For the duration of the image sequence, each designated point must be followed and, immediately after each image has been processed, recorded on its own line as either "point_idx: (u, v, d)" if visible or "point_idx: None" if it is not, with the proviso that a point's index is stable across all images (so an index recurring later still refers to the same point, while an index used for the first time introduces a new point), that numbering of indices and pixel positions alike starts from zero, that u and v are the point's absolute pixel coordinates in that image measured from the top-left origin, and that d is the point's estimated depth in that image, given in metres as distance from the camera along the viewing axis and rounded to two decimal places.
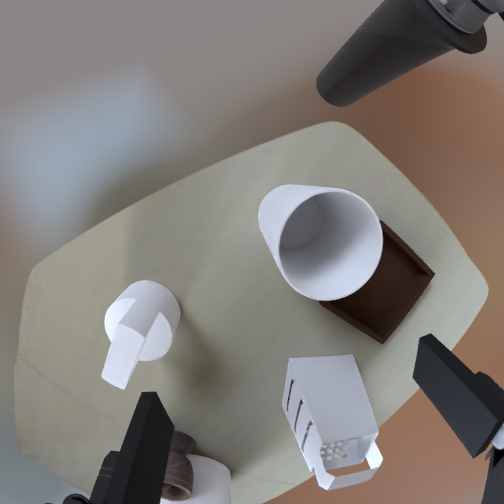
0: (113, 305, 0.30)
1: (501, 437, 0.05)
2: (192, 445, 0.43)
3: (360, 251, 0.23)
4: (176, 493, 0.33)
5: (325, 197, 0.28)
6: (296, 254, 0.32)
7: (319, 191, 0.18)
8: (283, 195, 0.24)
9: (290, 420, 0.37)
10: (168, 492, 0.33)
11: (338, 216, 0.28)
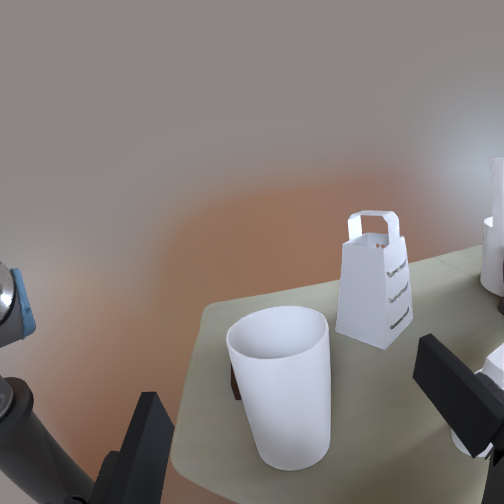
0: None
1: (501, 437, 0.05)
2: (500, 302, 0.36)
3: (263, 339, 0.26)
4: None
5: None
6: None
7: (247, 358, 0.18)
8: (278, 418, 0.19)
9: (409, 297, 0.42)
10: None
11: None
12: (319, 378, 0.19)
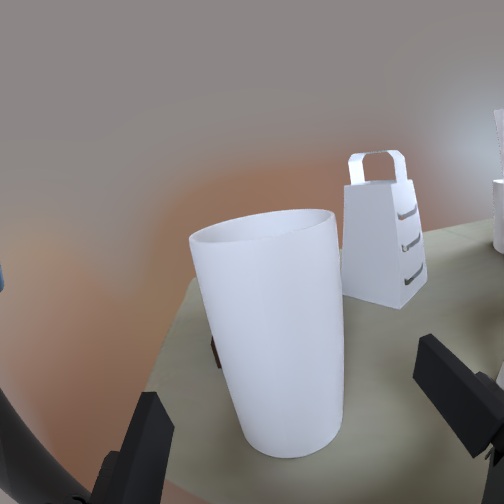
0: None
1: (501, 437, 0.05)
2: None
3: None
4: None
5: None
6: None
7: (212, 244, 0.13)
8: (265, 362, 0.13)
9: (422, 251, 0.36)
10: None
11: None
12: (327, 290, 0.13)
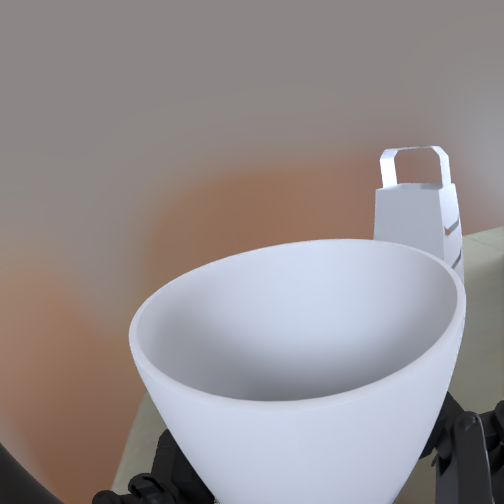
0: None
1: (443, 446, 0.06)
2: None
3: (257, 326, 0.11)
4: None
5: None
6: None
7: (169, 387, 0.04)
8: None
9: (462, 271, 0.27)
10: None
11: None
12: (430, 431, 0.04)
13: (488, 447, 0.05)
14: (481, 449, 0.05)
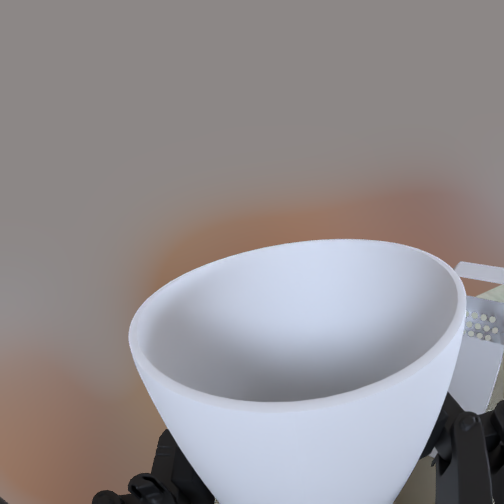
0: None
1: (443, 446, 0.06)
2: None
3: (257, 327, 0.11)
4: None
5: None
6: None
7: (169, 388, 0.04)
8: None
9: (494, 384, 0.19)
10: None
11: None
12: None
13: (488, 447, 0.05)
14: (481, 449, 0.05)
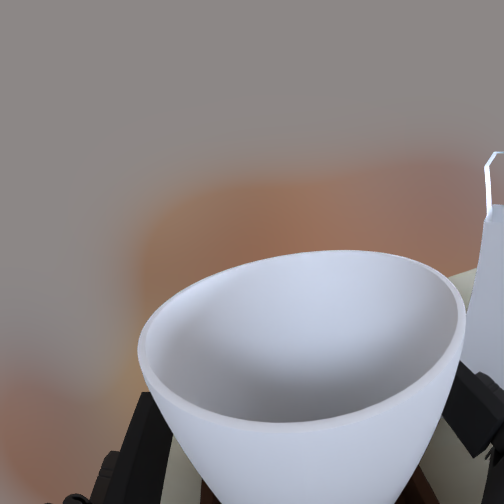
0: None
1: (501, 437, 0.05)
2: None
3: (261, 335, 0.11)
4: None
5: None
6: None
7: (182, 407, 0.04)
8: None
9: None
10: None
11: None
12: (429, 440, 0.05)
13: None
14: None
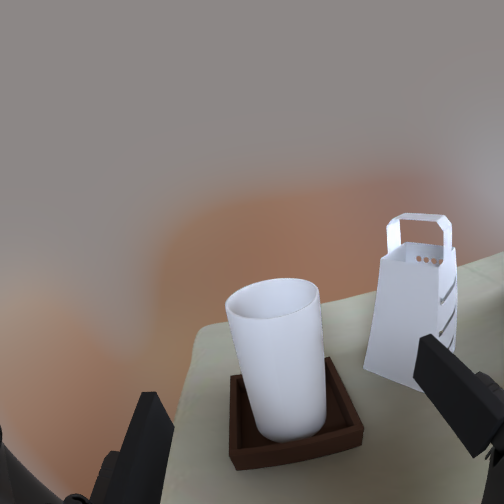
0: None
1: (501, 437, 0.05)
2: None
3: (260, 311, 0.28)
4: None
5: None
6: None
7: (243, 318, 0.21)
8: (273, 381, 0.22)
9: (454, 323, 0.29)
10: None
11: None
12: (311, 341, 0.22)
13: None
14: None
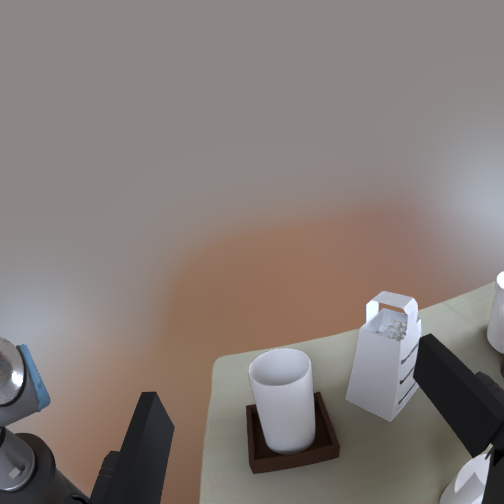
0: None
1: (501, 437, 0.05)
2: (503, 366, 0.33)
3: (270, 368, 0.38)
4: None
5: None
6: None
7: (262, 385, 0.31)
8: (280, 419, 0.32)
9: None
10: None
11: None
12: (305, 395, 0.31)
13: None
14: None
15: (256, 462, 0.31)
